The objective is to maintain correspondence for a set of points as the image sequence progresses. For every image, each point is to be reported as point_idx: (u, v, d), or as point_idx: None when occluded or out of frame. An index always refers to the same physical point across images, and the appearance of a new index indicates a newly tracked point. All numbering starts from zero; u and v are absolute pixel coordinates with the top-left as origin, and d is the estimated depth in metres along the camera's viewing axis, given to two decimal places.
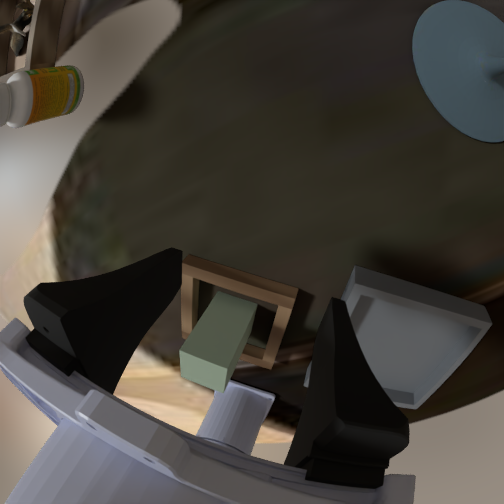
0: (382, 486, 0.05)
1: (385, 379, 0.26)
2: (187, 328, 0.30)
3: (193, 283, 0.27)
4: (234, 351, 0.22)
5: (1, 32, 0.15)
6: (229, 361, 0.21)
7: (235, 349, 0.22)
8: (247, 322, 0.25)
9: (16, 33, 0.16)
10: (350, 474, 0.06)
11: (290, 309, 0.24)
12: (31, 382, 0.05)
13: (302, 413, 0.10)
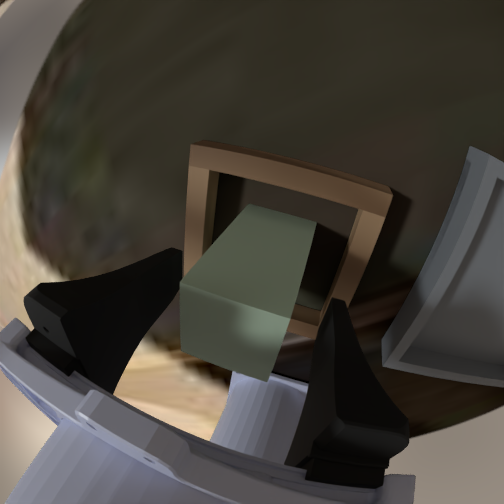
0: (382, 486, 0.05)
1: (485, 347, 0.15)
2: None
3: (209, 185, 0.15)
4: (297, 286, 0.11)
5: None
6: (291, 304, 0.10)
7: (298, 283, 0.11)
8: (308, 243, 0.14)
9: None
10: (350, 474, 0.06)
11: (382, 217, 0.13)
12: (31, 382, 0.05)
13: (302, 413, 0.10)
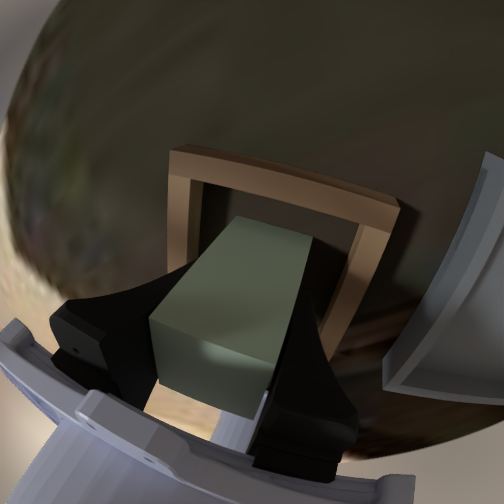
0: (382, 486, 0.05)
1: (491, 366, 0.13)
2: None
3: (192, 195, 0.14)
4: (286, 321, 0.09)
5: None
6: (278, 345, 0.08)
7: (288, 316, 0.09)
8: (302, 264, 0.12)
9: None
10: (298, 465, 0.06)
11: (387, 233, 0.11)
12: (31, 382, 0.05)
13: (264, 402, 0.10)
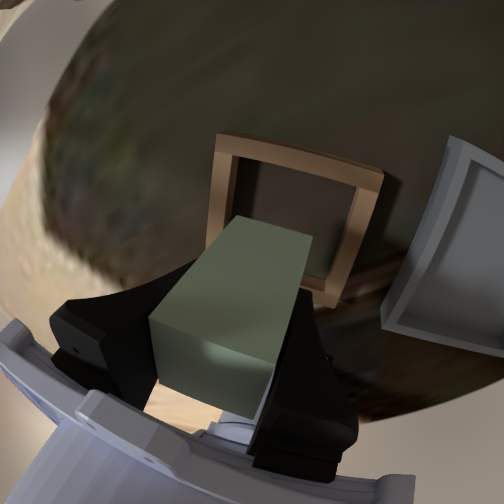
0: (382, 486, 0.05)
1: (475, 316, 0.18)
2: None
3: (231, 168, 0.18)
4: (286, 320, 0.09)
5: None
6: (278, 345, 0.08)
7: (288, 316, 0.09)
8: (302, 263, 0.12)
9: None
10: (298, 465, 0.06)
11: (376, 193, 0.16)
12: (31, 382, 0.05)
13: (264, 402, 0.10)
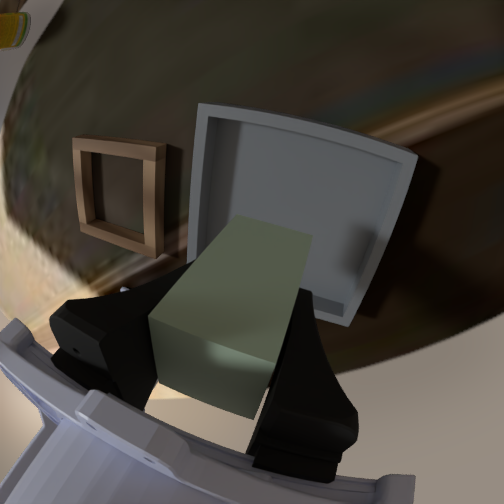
0: (382, 486, 0.05)
1: None
2: (82, 216, 0.26)
3: (82, 158, 0.23)
4: (286, 319, 0.09)
5: None
6: (278, 344, 0.08)
7: (288, 315, 0.09)
8: (302, 262, 0.12)
9: None
10: (298, 465, 0.06)
11: (154, 162, 0.21)
12: (31, 382, 0.05)
13: None
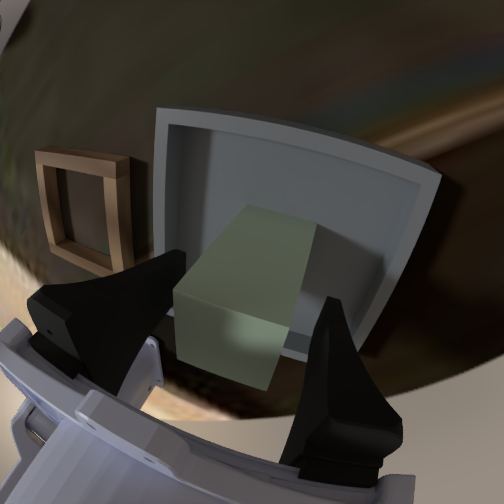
0: (382, 486, 0.05)
1: None
2: (50, 236, 0.23)
3: (46, 174, 0.19)
4: (297, 292, 0.10)
5: None
6: (291, 311, 0.09)
7: (298, 288, 0.10)
8: (308, 246, 0.13)
9: None
10: (343, 473, 0.06)
11: (114, 180, 0.17)
12: (31, 382, 0.05)
13: (297, 412, 0.10)
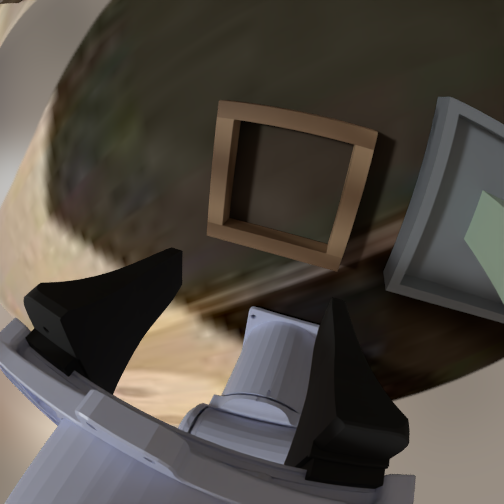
0: (382, 486, 0.05)
1: (479, 280, 0.18)
2: (216, 214, 0.22)
3: (233, 132, 0.18)
4: None
5: None
6: None
7: None
8: None
9: None
10: (350, 474, 0.06)
11: (371, 150, 0.16)
12: (31, 382, 0.05)
13: (302, 413, 0.10)
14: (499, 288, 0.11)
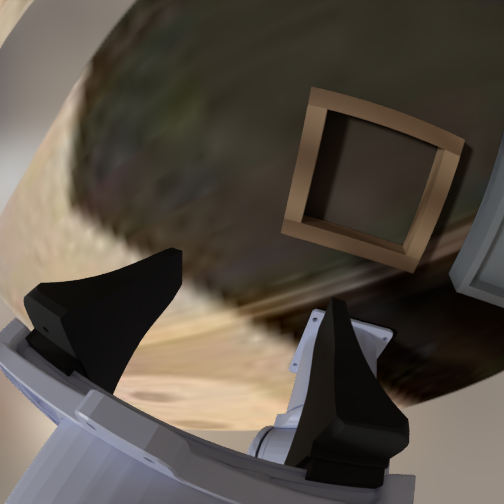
0: (382, 486, 0.05)
1: None
2: (296, 210, 0.20)
3: (324, 123, 0.16)
4: None
5: None
6: None
7: None
8: None
9: None
10: (350, 474, 0.06)
11: (458, 156, 0.14)
12: (31, 382, 0.05)
13: (302, 413, 0.10)
14: None
